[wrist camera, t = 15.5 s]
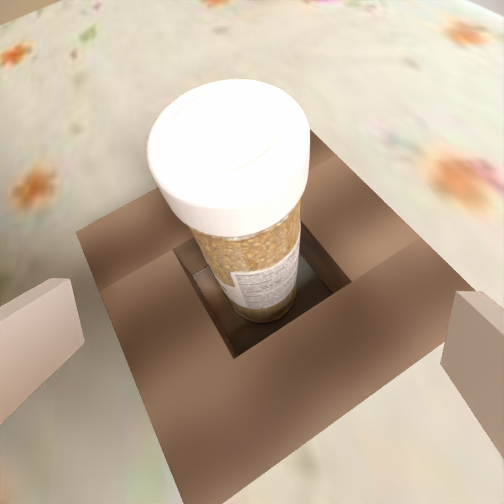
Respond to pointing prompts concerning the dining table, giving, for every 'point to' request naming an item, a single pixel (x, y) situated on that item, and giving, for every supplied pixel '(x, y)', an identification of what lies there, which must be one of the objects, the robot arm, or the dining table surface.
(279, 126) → the sprinkles bottle
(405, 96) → the dining table surface
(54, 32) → the dining table surface
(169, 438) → the frame
